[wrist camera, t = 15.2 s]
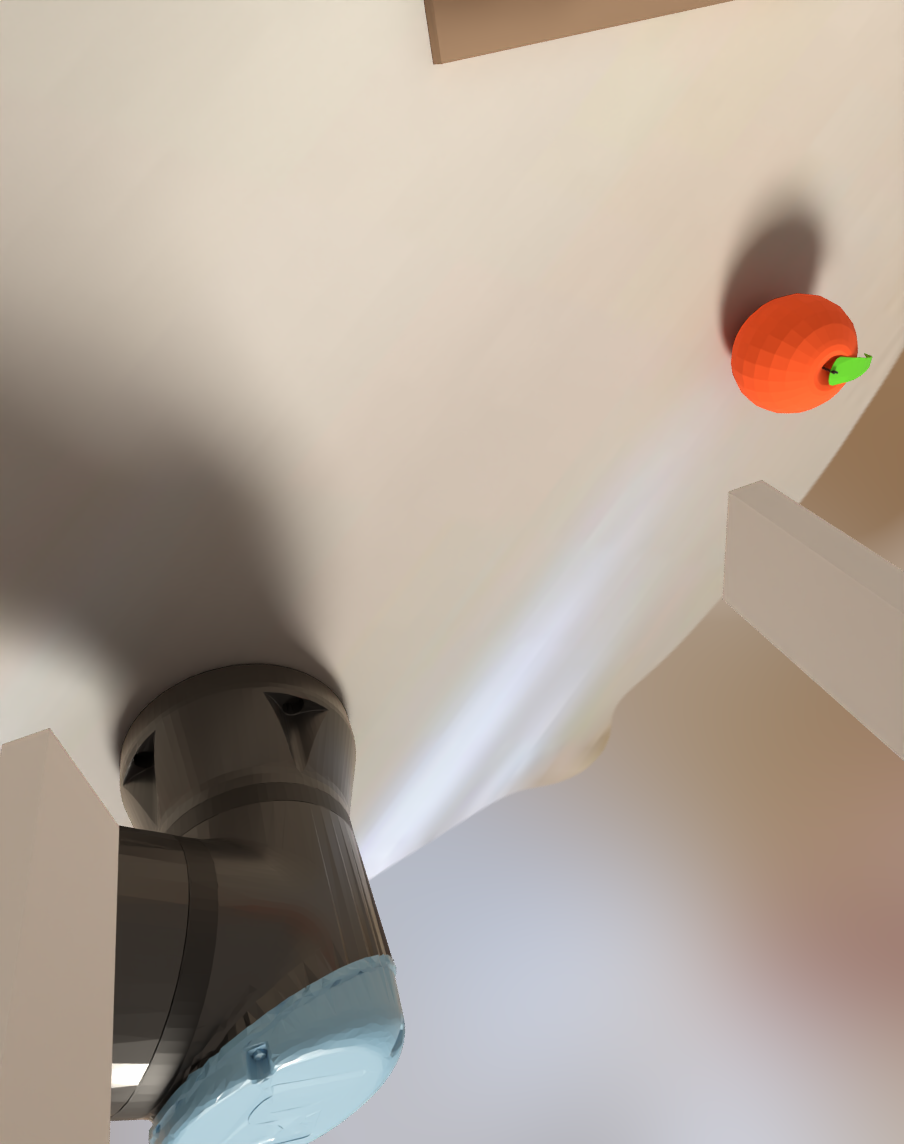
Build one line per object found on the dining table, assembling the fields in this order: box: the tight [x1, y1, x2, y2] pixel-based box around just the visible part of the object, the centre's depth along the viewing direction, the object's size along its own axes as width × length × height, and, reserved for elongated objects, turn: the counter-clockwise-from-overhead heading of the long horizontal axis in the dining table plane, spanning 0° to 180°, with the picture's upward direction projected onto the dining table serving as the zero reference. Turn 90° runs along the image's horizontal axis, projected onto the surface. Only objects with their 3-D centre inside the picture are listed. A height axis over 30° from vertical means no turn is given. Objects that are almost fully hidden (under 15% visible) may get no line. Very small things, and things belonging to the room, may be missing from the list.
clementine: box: [731, 293, 872, 413], centre depth 45 cm, size 8×7×7 cm
